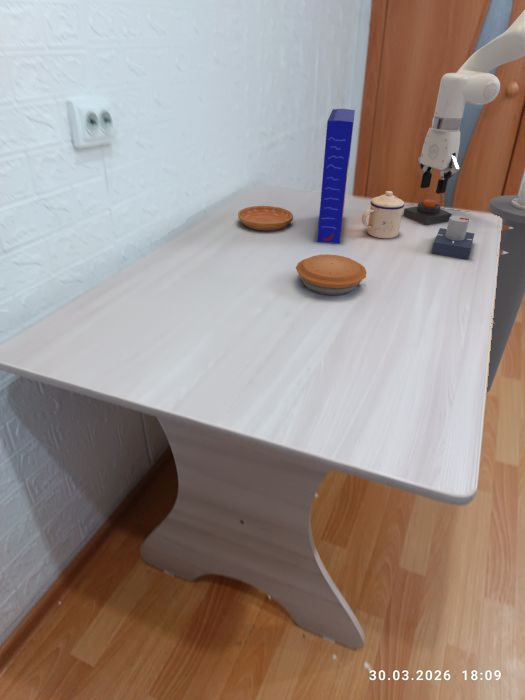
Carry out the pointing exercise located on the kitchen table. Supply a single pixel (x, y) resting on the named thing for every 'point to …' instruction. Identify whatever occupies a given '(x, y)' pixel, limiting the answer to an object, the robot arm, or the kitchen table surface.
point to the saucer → (265, 217)
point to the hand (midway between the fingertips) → (432, 189)
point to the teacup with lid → (384, 216)
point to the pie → (330, 274)
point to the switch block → (427, 214)
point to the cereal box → (335, 174)
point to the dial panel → (452, 245)
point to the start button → (429, 203)
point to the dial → (457, 228)
